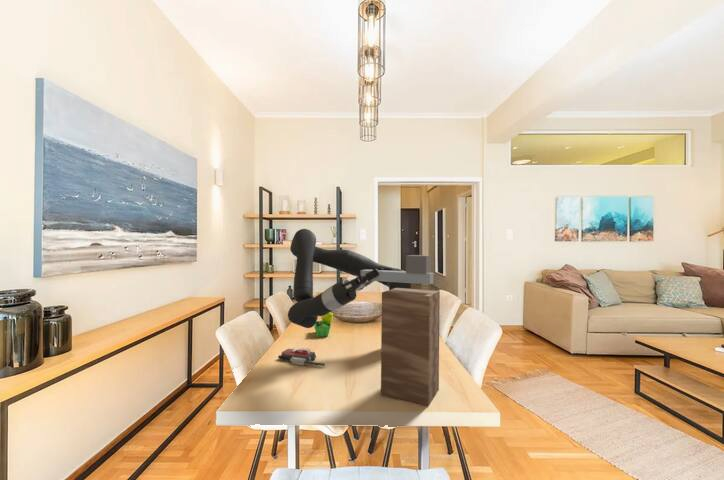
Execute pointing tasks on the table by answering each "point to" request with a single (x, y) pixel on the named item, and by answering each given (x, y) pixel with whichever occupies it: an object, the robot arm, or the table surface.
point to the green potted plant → (324, 325)
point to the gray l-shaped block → (408, 271)
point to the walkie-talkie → (299, 356)
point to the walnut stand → (410, 345)
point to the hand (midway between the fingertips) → (380, 271)
